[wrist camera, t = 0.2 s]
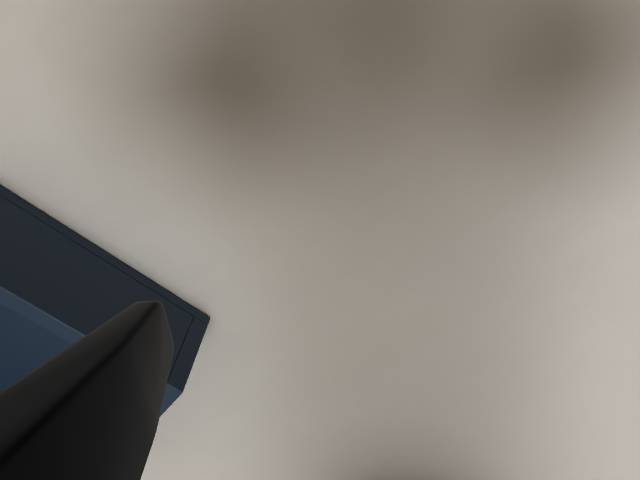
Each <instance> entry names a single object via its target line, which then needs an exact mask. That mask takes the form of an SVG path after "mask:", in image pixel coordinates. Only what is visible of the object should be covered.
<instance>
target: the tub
mask: <svg viewBox="0 0 640 480" xmlns="http://www.w3.org/2000/svg"><path fill="white" fill-rule="evenodd" d="M141 301H159V302H160V303H162V305H163V306H164V309H165V312H166V316H167V319H168V323H169V326H170V330H171V333H172V337H173V342H174V351H173V357H172V361H171V366H170V371H169V375H168V380H167V385H166V389H165V394H164V399H163V403H162V408H161V413H160V416H161V415H162V414H163V413H164V412H165V411H166V410H167V409H168V407H169V406H170V405H171V404H172V403H173V402H174V401H175V400H176V399H177V398H178V397H179V396H180V395H181V394H182V393H183V390H184V387H185V385H186V382H187V379H188V377H189V374H190V371H191V369H192V366H193V363H194V361H195V358H196V355H197V353H198V350H199V347H200V344H201V342H202V339H203V336H204V334H205V331H206V328H207V325H208V323H209V320H210V318H209V317H208V316H206V315H205V314H203V313H202V312H200V311H198V310H197V309H195V308H194V307H192V306H190V305H189V304H187V303H186V302H184V301H183V300H181V299H179V298H178V297H176V296H175V295H173V294H171V293H170V292H168V291H167V290H165V289H164V288H162V287H160V286H159V285H157V284H156V283H154V282H152V281H151V280H149V279H148V278H146V277H145V276H143V275H141V274H140V273H138V272H137V271H135V270H133V269H132V268H130V267H129V266H127V265H126V264H124V263H122V262H121V261H119V260H118V259H116V258H114V257H113V256H111V255H110V254H108V253H107V252H105V251H103V250H102V249H100V248H99V247H97V246H95V245H94V244H92V243H91V242H89V241H87V240H86V239H84V238H83V237H81V236H80V235H78V234H76V233H75V232H73V231H72V230H70V229H68V228H67V227H65V226H64V225H62V224H61V223H59V222H57V221H56V220H54V219H53V218H51V217H49V216H48V215H46V214H45V213H43V212H42V211H40V210H38V209H37V208H35V207H34V206H32V205H30V204H29V203H27V202H26V201H24V200H23V199H21V198H19V197H18V196H16V195H15V194H13V193H11V192H10V191H8V190H7V189H5V188H4V187H2V186H0V393H1V392H2V391H4V390H5V389H7V388H8V387H10V386H11V385H13V384H14V383H16V382H17V381H19V380H20V379H22V378H23V377H25V376H26V375H28V374H29V373H31V372H32V371H34V370H35V369H37V368H38V367H40V366H41V365H43V364H44V363H46V362H47V361H49V360H50V359H52V358H53V357H55V356H56V355H58V354H59V353H61V352H62V351H64V350H65V349H67V348H68V347H70V346H71V345H72V344H74V343H75V342H77V341H78V340H80V339H81V338H83V337H84V336H86V335H87V334H89V333H90V332H92V331H93V330H95V329H96V328H98V327H99V326H101V325H102V324H104V323H105V322H107V321H108V320H110V319H111V318H113V317H114V316H116V315H117V314H119V313H120V312H122V311H123V310H125V309H126V308H128V307H129V306H131V305H132V304H134V303H135V302H141Z"/></svg>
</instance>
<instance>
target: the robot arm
mask: <svg viewBox="0 0 640 480" xmlns="http://www.w3.org/2000/svg"><path fill="white" fill-rule="evenodd" d="M173 351H174V342H173V337H172V333H171V330H170V326H169V323H168V319H167V316H166V312H165V309H164V306H163V305H162V303H160V302H159V301H141V302H135V303H134V304H132V305H131V306H129V307H128V308H126V309H125V310H123V311H122V312H120V313H119V314H117V315H116V316H114V317H113V318H111V319H110V320H108V321H107V322H105V323H104V324H102V325H101V326H99V327H98V328H96V329H95V330H93V331H92V332H90V333H89V334H87V335H86V336H84V337H83V338H81V339H80V340H78V341H77V342H75V343H74V344H72V345H71V346H70V347H68V348H67V349H65V350H64V351H62V352H61V353H59V354H58V355H56V356H55V357H53V358H52V359H50V360H49V361H47V362H46V363H44V364H43V365H41V366H40V367H38V368H37V369H35V370H34V371H32V372H31V373H29V374H28V375H26V376H25V377H23V378H22V379H20V380H19V381H17V382H16V383H14V384H13V385H11V386H10V387H8V388H7V389H5V390H4V391H2V392H1V393H0V480H140V479H141V476H142V473H143V470H144V467H145V464H146V461H147V458H148V455H149V452H150V449H151V446H152V443H153V440H154V437H155V433H156V430H157V426H158V422H159V417H160V413H161V408H162V403H163V399H164V394H165V389H166V385H167V380H168V375H169V371H170V366H171V361H172V357H173Z"/></svg>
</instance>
